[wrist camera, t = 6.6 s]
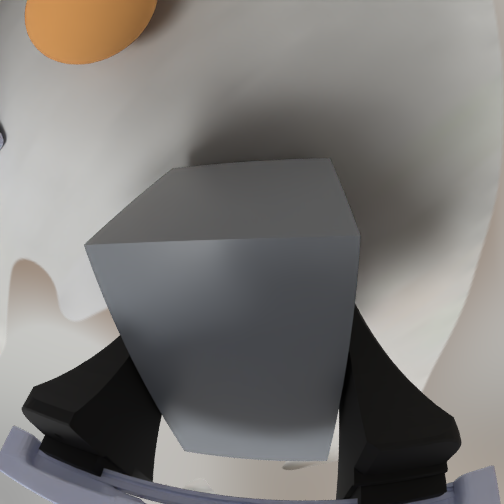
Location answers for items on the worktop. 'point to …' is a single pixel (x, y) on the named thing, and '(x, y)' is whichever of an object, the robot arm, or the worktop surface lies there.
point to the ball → (85, 27)
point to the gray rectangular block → (237, 302)
